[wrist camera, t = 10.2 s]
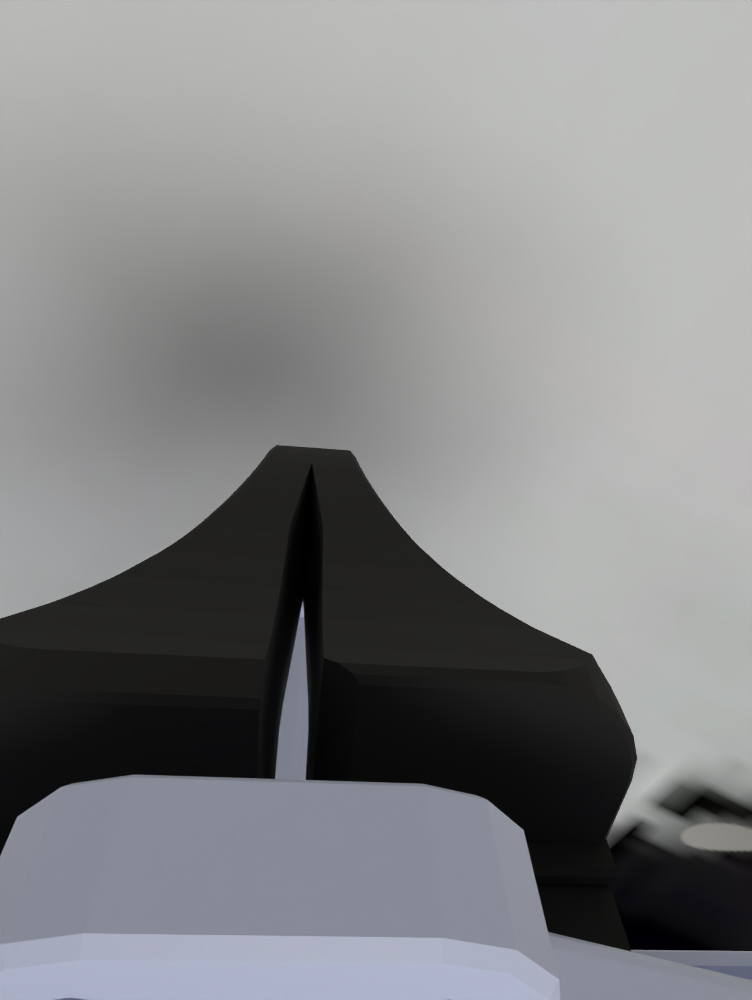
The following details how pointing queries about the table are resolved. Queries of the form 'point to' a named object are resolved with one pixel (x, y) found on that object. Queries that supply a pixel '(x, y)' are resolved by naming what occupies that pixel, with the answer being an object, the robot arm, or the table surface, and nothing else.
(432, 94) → the table surface
